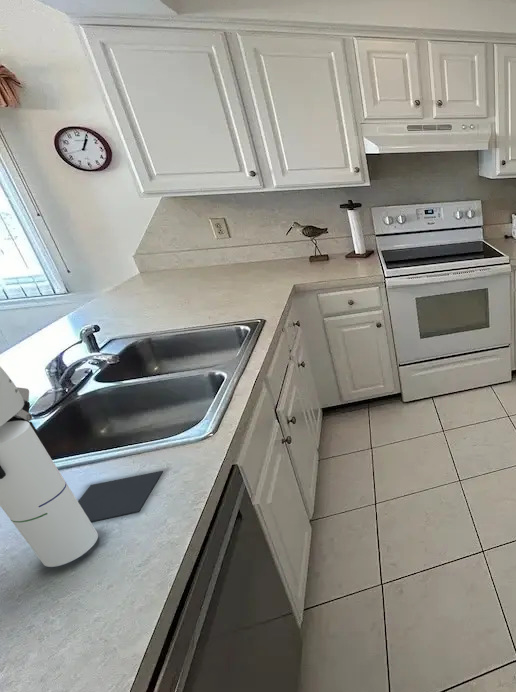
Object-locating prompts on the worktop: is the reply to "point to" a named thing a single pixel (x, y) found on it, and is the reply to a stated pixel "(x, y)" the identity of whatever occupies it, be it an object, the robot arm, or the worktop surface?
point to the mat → (118, 496)
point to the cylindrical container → (41, 498)
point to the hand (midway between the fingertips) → (11, 460)
